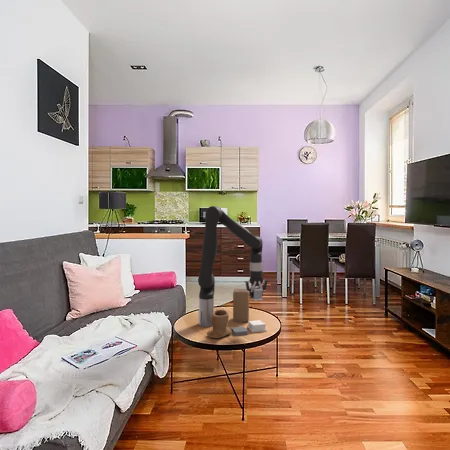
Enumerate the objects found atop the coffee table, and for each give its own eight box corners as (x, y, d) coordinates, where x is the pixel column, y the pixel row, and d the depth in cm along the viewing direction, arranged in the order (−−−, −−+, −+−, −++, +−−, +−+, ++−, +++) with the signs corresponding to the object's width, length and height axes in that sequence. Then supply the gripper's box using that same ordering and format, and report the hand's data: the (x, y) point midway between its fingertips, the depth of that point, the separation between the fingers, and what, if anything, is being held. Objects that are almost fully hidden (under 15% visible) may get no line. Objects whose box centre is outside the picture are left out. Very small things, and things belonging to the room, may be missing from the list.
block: (248, 318, 236) (249, 288, 235) (248, 322, 226) (248, 292, 225) (234, 317, 236) (234, 288, 236) (232, 322, 227) (233, 291, 226)
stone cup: (217, 342, 193) (217, 315, 193) (204, 336, 202) (204, 310, 201) (237, 335, 203) (237, 310, 202) (223, 330, 212) (223, 305, 211)
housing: (254, 300, 208) (254, 288, 207) (250, 297, 215) (250, 285, 215) (262, 300, 209) (262, 287, 208) (258, 296, 217) (257, 285, 216)
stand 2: (252, 332, 208) (252, 325, 208) (247, 327, 217) (247, 320, 217) (266, 330, 211) (266, 324, 210) (261, 326, 219) (261, 319, 219)
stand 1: (235, 335, 203) (235, 332, 203) (231, 330, 211) (231, 327, 210) (248, 334, 205) (248, 330, 205) (243, 329, 213) (243, 326, 213)
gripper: (246, 271, 206) (247, 299, 207) (269, 269, 209) (269, 298, 210) (242, 269, 213) (243, 296, 214) (265, 267, 217) (265, 295, 217)
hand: (256, 297), depth 212 cm, fingers closed on housing, 5 cm apart
